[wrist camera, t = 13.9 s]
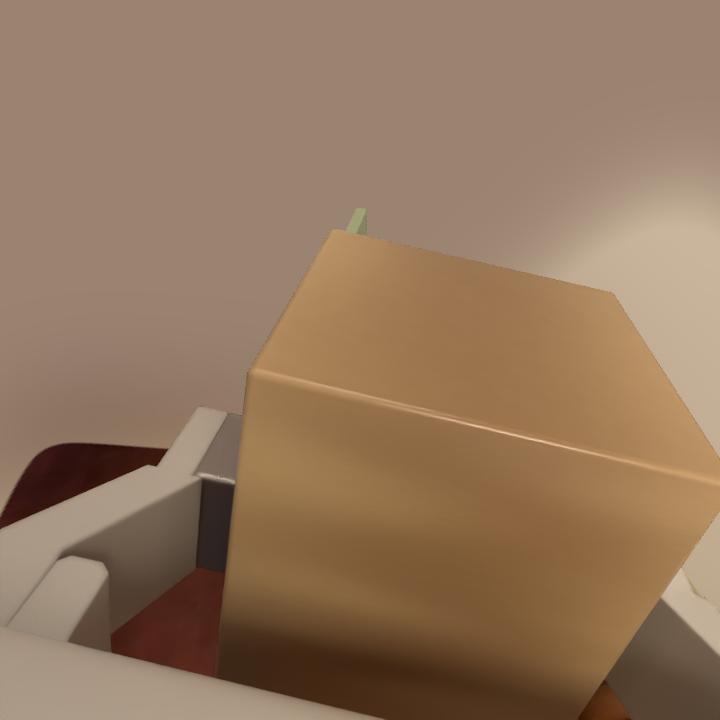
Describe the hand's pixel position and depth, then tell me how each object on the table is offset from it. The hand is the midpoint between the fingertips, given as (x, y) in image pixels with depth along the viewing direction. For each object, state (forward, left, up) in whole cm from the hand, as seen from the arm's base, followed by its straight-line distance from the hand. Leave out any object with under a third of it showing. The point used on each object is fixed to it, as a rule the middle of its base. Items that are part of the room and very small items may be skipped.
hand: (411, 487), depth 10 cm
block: (0, -1, -4) cm, 4 cm away
